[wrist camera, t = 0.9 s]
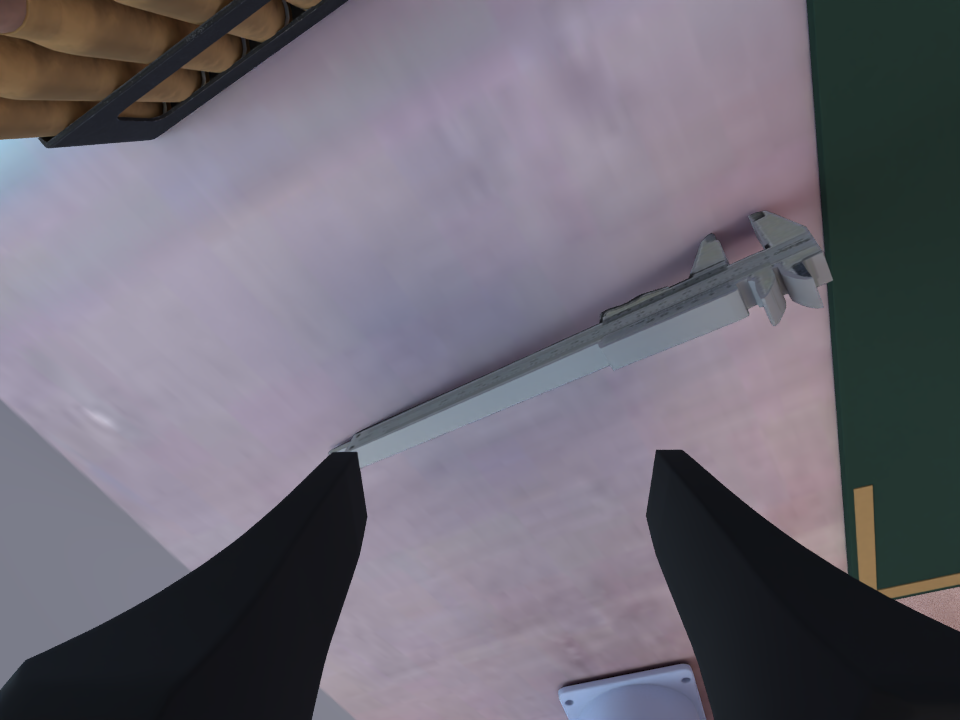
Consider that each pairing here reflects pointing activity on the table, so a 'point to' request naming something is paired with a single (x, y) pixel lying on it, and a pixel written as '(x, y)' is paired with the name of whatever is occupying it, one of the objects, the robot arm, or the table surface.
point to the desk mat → (893, 279)
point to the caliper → (626, 333)
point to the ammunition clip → (131, 61)
